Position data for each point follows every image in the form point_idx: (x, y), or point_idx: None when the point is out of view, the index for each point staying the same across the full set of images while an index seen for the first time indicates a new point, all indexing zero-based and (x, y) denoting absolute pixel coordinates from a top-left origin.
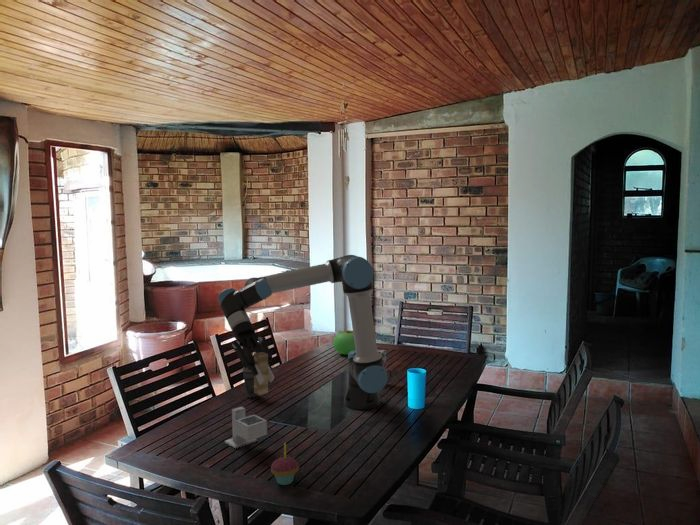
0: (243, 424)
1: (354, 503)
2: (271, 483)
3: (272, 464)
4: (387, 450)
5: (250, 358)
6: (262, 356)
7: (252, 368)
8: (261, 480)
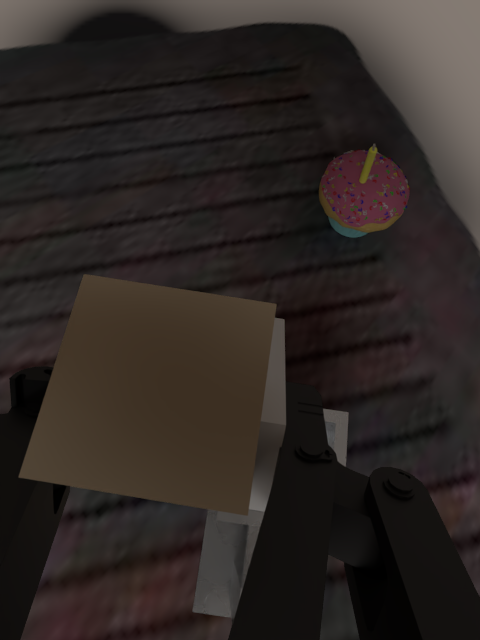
0: (345, 457)
1: (308, 50)
2: (385, 238)
3: (398, 207)
4: (17, 109)
5: (322, 528)
6: (213, 302)
7: (326, 437)
8: (395, 270)
